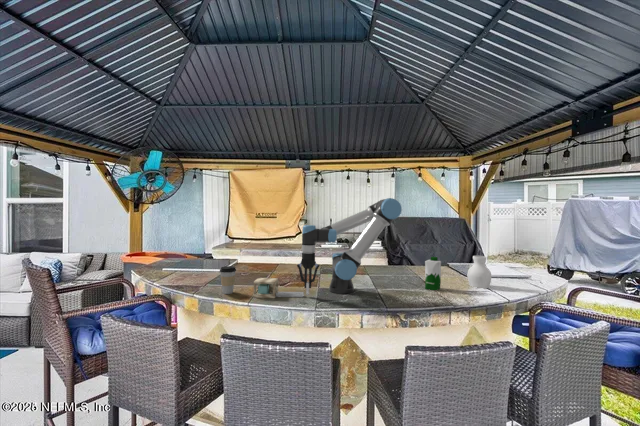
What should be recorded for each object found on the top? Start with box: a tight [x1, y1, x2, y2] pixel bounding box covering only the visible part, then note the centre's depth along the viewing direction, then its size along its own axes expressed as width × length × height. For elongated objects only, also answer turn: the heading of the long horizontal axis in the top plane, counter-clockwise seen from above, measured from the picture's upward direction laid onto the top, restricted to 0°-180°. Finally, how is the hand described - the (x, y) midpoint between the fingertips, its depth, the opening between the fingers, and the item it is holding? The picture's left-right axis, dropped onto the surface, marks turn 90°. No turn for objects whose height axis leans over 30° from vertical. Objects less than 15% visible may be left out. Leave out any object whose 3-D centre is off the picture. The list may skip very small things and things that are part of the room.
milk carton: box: [424, 256, 442, 291], centre depth 187 cm, size 9×9×20 cm
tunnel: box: [253, 277, 279, 299], centre depth 168 cm, size 12×9×9 cm
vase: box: [467, 255, 492, 289], centre depth 194 cm, size 14×14×20 cm
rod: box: [270, 291, 305, 298], centre depth 167 cm, size 19×3×3 cm, turn 89°
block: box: [257, 284, 269, 294], centre depth 168 cm, size 5×5×6 cm
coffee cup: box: [219, 265, 237, 295], centre depth 173 cm, size 9×9×15 cm
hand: (307, 293), depth 166 cm, fingers closed
